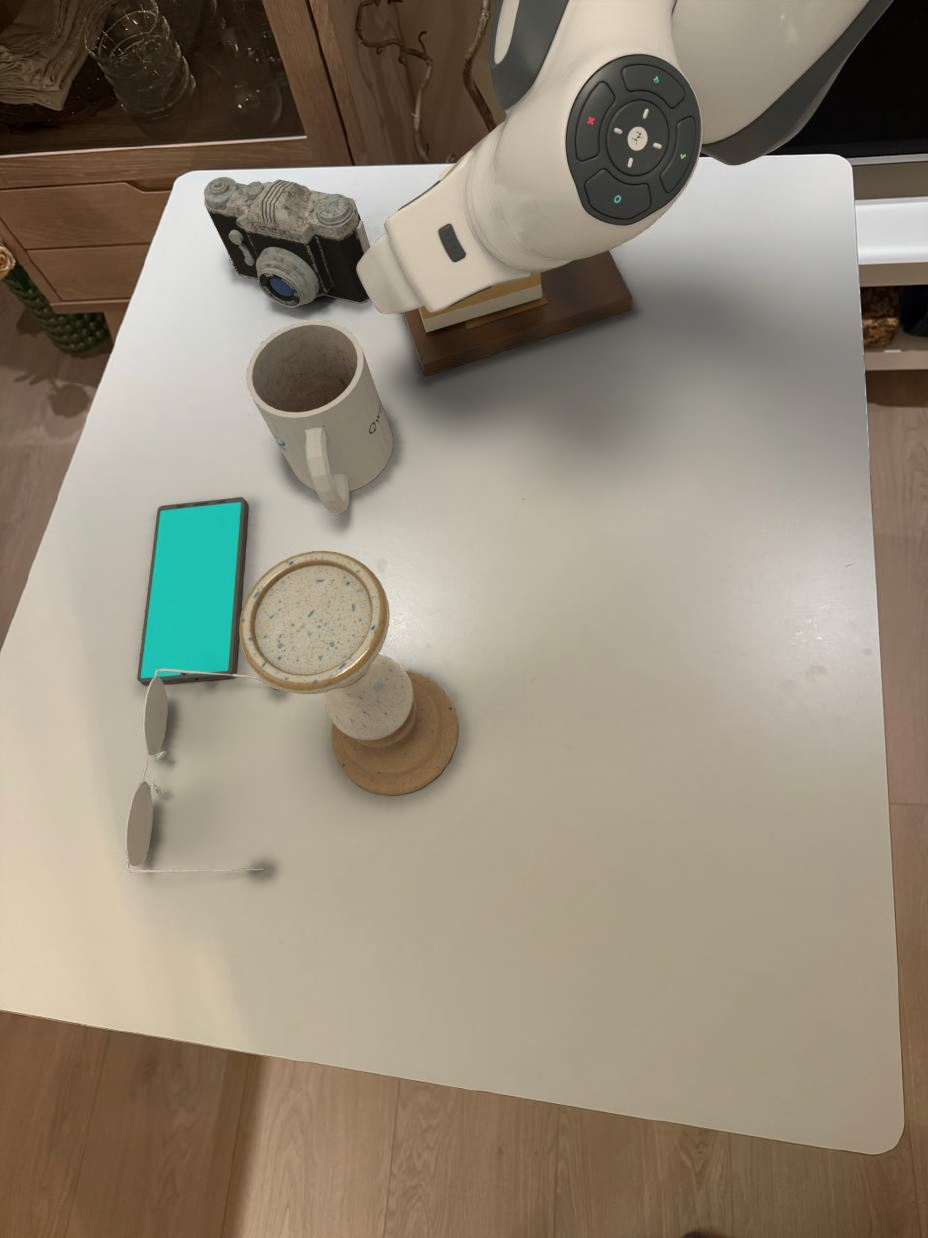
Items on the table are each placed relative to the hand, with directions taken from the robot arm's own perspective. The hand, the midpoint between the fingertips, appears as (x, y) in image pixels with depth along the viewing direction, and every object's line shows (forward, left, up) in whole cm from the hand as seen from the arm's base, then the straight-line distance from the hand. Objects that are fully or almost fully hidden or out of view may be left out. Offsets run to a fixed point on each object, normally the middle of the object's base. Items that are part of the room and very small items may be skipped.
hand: (463, 234), depth 70 cm
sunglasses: (+29, +34, -8) cm, 45 cm away
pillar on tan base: (0, +1, -6) cm, 6 cm away
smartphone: (+28, +19, -8) cm, 35 cm away
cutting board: (-3, +1, -8) cm, 8 cm away
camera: (+14, -8, -8) cm, 18 cm away
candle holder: (+16, +35, -8) cm, 39 cm away
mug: (+15, +12, -8) cm, 21 cm away
